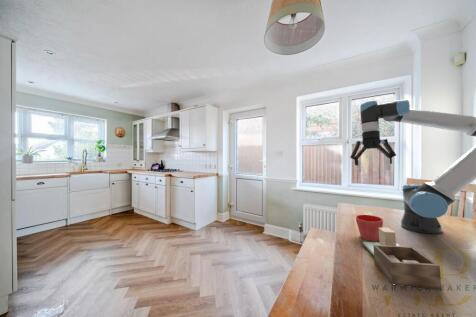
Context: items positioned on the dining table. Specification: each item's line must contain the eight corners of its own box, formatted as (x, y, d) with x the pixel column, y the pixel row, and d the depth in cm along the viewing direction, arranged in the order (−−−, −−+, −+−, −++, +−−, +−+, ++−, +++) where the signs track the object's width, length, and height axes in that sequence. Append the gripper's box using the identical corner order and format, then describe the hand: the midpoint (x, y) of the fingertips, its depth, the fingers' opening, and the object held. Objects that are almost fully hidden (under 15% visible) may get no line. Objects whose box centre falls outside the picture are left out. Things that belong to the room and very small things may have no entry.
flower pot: (386, 244, 82) (384, 222, 82) (357, 240, 88) (355, 219, 88) (382, 235, 91) (381, 215, 91) (356, 232, 97) (355, 213, 97)
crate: (413, 266, 65) (412, 246, 65) (441, 289, 53) (439, 265, 53) (374, 263, 68) (373, 244, 68) (393, 285, 56) (391, 262, 56)
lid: (397, 248, 78) (395, 224, 78) (419, 265, 66) (417, 237, 66) (363, 246, 82) (361, 223, 82) (377, 262, 69) (375, 235, 69)
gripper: (394, 129, 97) (397, 169, 97) (342, 134, 104) (344, 171, 103) (402, 127, 90) (406, 170, 90) (346, 132, 96) (349, 172, 96)
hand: (373, 171), depth 97 cm, fingers open, 13 cm apart
